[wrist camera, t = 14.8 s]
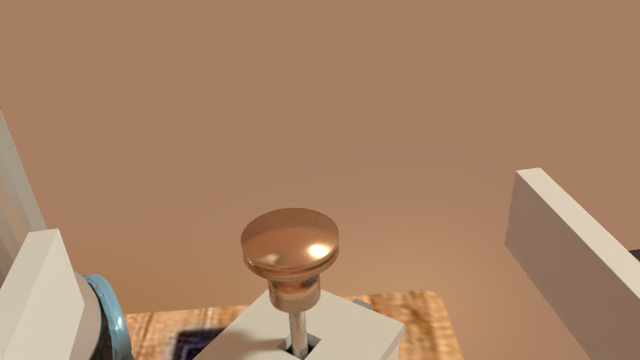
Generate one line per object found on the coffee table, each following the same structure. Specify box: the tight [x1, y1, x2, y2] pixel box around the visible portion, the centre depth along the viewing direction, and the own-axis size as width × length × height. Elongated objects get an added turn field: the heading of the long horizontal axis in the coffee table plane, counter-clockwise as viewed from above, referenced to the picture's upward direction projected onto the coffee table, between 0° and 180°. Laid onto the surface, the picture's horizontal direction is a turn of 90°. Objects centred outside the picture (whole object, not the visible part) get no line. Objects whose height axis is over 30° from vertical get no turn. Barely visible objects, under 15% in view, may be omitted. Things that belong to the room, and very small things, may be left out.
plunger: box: [241, 208, 339, 360], centre depth 42 cm, size 6×6×23 cm
